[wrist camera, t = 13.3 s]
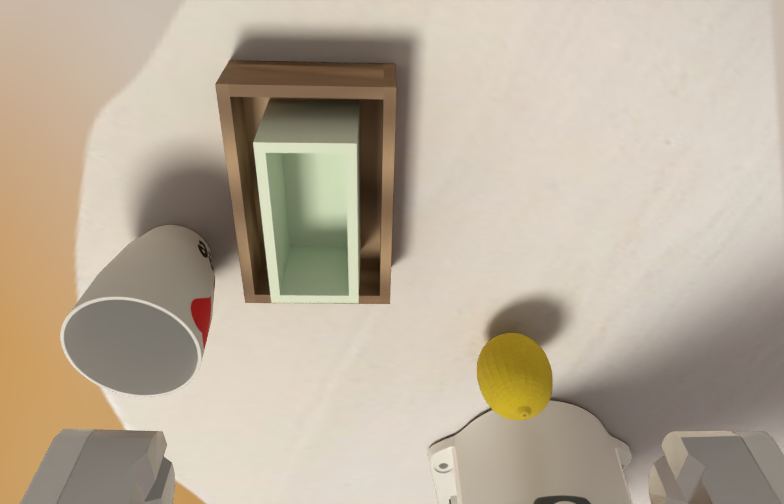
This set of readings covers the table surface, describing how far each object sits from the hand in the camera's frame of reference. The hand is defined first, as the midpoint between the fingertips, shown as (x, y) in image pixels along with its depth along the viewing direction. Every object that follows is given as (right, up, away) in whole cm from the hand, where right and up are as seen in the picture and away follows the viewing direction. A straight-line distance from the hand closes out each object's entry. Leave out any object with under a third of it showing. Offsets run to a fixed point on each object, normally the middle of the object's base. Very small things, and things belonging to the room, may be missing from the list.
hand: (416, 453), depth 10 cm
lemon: (+9, -4, +41) cm, 42 cm away
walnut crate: (-5, +8, +32) cm, 33 cm away
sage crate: (-5, +8, +31) cm, 33 cm away
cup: (-16, +3, +36) cm, 39 cm away
